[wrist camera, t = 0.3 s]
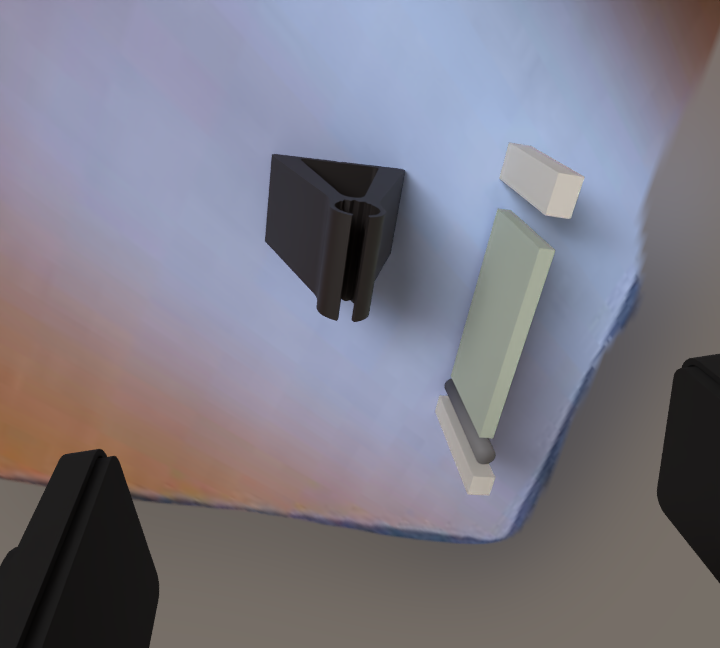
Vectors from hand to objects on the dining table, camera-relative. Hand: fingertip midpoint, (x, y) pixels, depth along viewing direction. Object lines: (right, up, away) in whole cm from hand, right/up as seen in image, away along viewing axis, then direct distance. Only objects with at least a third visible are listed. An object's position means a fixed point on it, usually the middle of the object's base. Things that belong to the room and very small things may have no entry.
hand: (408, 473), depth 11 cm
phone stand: (-3, +11, +33) cm, 35 cm away
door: (+8, +4, +38) cm, 39 cm away
